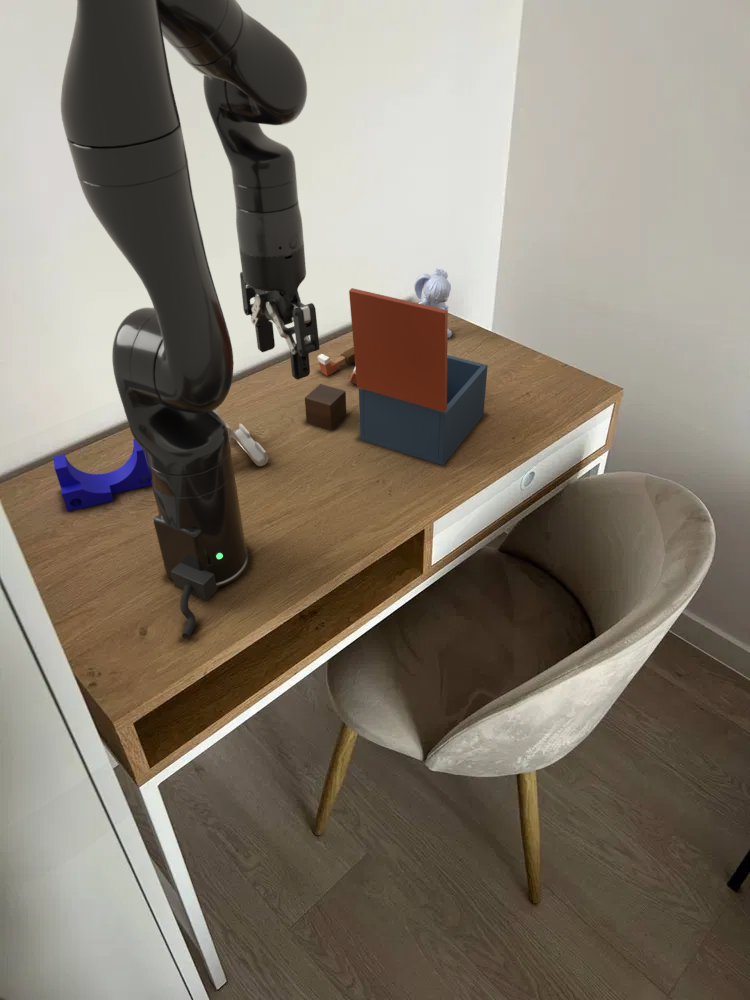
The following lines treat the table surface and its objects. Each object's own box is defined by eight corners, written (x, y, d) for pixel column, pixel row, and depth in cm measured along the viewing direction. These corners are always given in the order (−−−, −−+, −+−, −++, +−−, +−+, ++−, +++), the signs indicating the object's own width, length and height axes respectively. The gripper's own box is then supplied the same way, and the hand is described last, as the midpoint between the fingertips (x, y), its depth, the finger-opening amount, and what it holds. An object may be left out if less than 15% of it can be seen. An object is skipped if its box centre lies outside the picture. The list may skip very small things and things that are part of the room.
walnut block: (331, 430, 123) (330, 405, 120) (306, 422, 124) (304, 397, 121) (346, 415, 126) (345, 390, 123) (322, 408, 127) (320, 383, 124)
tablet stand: (268, 464, 116) (262, 415, 111) (217, 482, 113) (208, 432, 108) (243, 434, 122) (236, 386, 117) (194, 451, 119) (185, 403, 113)
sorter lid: (351, 287, 104) (348, 290, 104) (448, 310, 99) (445, 313, 99) (359, 384, 115) (356, 387, 114) (447, 409, 110) (444, 412, 109)
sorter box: (405, 393, 130) (405, 344, 125) (483, 415, 125) (487, 365, 120) (359, 439, 121) (358, 388, 115) (443, 465, 115) (445, 413, 110)
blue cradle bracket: (67, 511, 109) (55, 475, 105) (64, 491, 112) (53, 456, 108) (157, 490, 112) (149, 455, 108) (152, 471, 115) (144, 437, 111)
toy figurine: (429, 347, 142) (432, 282, 134) (408, 333, 146) (409, 269, 138) (461, 336, 145) (464, 272, 137) (439, 322, 149) (441, 260, 141)
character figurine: (305, 348, 135) (383, 303, 143) (309, 372, 139) (385, 327, 147) (352, 375, 129) (432, 326, 137) (356, 400, 132) (433, 351, 140)
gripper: (213, 229, 97) (231, 350, 107) (274, 269, 88) (287, 396, 99) (267, 215, 100) (280, 333, 111) (332, 252, 91) (339, 376, 102)
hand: (283, 362), depth 105 cm, fingers open, 8 cm apart
